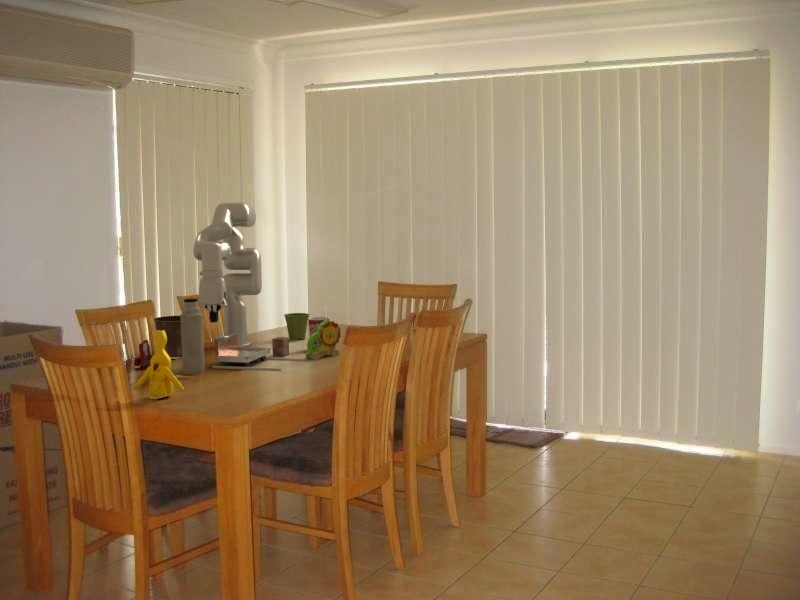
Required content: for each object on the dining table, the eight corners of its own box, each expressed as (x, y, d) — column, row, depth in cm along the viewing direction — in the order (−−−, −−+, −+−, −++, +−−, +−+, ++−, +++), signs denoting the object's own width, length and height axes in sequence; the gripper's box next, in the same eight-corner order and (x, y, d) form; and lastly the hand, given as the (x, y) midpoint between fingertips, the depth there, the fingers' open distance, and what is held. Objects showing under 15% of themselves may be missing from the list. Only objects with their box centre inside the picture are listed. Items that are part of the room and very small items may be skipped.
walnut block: (272, 358, 374) (272, 338, 373) (278, 356, 378) (277, 336, 377) (284, 359, 372) (283, 339, 371) (289, 356, 377) (288, 337, 376)
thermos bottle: (190, 371, 349) (187, 297, 346) (209, 372, 347) (206, 297, 343) (178, 375, 342) (175, 299, 339) (197, 376, 339) (194, 300, 336)
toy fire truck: (159, 364, 365) (158, 338, 364) (151, 370, 353) (150, 343, 352) (141, 364, 365) (140, 338, 364) (133, 370, 353) (131, 343, 352)
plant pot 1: (203, 357, 379) (201, 318, 377) (166, 362, 369) (164, 322, 367) (185, 352, 391) (183, 314, 390) (148, 357, 381) (147, 318, 379)
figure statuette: (129, 400, 303) (126, 333, 300) (139, 394, 311) (136, 329, 308) (182, 400, 301) (179, 333, 298) (191, 395, 308) (188, 329, 306)
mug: (329, 351, 388) (328, 319, 386) (307, 351, 388) (306, 319, 386) (331, 346, 400) (330, 315, 399) (310, 346, 400) (309, 315, 398)
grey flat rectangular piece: (212, 370, 352) (212, 365, 351) (237, 360, 372) (237, 356, 371) (280, 373, 343) (280, 368, 343) (302, 362, 363) (302, 358, 363)
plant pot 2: (309, 341, 416) (308, 315, 414) (282, 341, 416) (281, 316, 414) (312, 336, 427) (311, 312, 426) (286, 337, 427) (285, 312, 426)
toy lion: (313, 362, 365) (312, 323, 363) (304, 360, 368) (303, 322, 367) (344, 356, 376) (343, 319, 374) (335, 355, 379) (334, 318, 378)
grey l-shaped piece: (213, 367, 352) (212, 339, 351) (237, 358, 371) (236, 331, 370) (247, 368, 348) (246, 340, 346) (270, 359, 367) (269, 332, 365)
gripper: (190, 275, 357) (192, 322, 359) (225, 275, 353) (227, 323, 355) (199, 273, 364) (201, 320, 366) (234, 274, 360) (236, 321, 362)
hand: (214, 322), depth 360 cm, fingers closed
